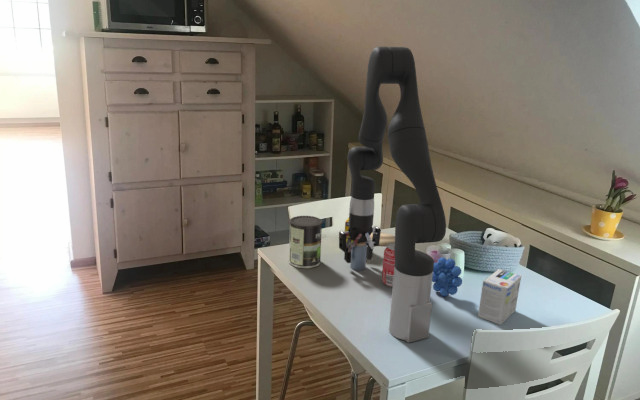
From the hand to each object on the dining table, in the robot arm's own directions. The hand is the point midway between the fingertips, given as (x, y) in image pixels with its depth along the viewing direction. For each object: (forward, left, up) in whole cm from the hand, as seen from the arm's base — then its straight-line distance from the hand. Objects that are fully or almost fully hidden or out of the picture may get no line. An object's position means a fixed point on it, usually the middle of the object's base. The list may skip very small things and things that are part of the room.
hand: (358, 260), depth 168 cm
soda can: (-14, -4, -3) cm, 15 cm away
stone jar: (0, 0, -2) cm, 2 cm away
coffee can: (+10, +14, -3) cm, 17 cm away
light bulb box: (-40, -20, -3) cm, 45 cm away
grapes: (-26, -14, -3) cm, 30 cm away
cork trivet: (+18, -20, -2) cm, 27 cm away
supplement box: (+13, -6, -3) cm, 15 cm away
